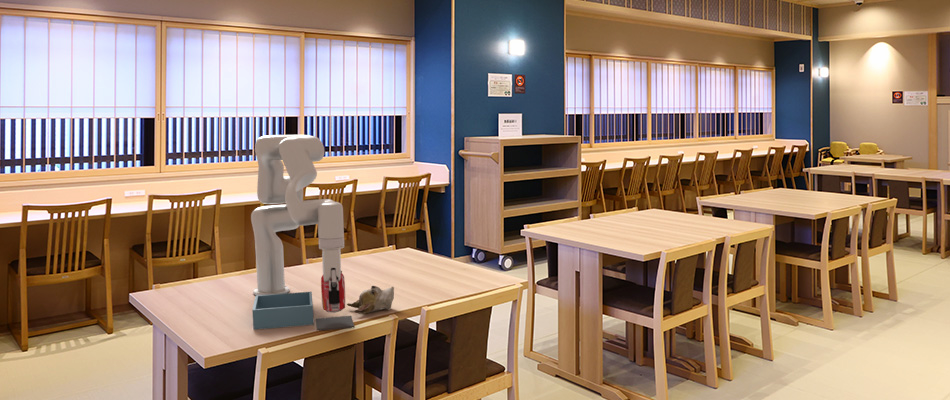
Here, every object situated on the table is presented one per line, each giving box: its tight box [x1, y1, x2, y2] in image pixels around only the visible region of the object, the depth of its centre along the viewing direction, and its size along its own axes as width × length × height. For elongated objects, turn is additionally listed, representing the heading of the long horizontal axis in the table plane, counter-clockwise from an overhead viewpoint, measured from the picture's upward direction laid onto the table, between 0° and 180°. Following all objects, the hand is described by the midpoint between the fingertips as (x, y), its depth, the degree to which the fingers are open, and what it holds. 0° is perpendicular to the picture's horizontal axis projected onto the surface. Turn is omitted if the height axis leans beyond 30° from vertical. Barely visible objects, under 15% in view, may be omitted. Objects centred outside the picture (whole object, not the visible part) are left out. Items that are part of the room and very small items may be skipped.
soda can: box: [320, 270, 346, 314], centre depth 209 cm, size 7×7×12 cm
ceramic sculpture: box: [346, 285, 395, 314], centre depth 224 cm, size 11×9×15 cm
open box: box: [251, 291, 315, 330], centre depth 216 cm, size 18×18×6 cm
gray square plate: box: [315, 315, 355, 331], centre depth 210 cm, size 11×11×1 cm
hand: (333, 299), depth 209 cm, fingers closed on soda can, 7 cm apart
